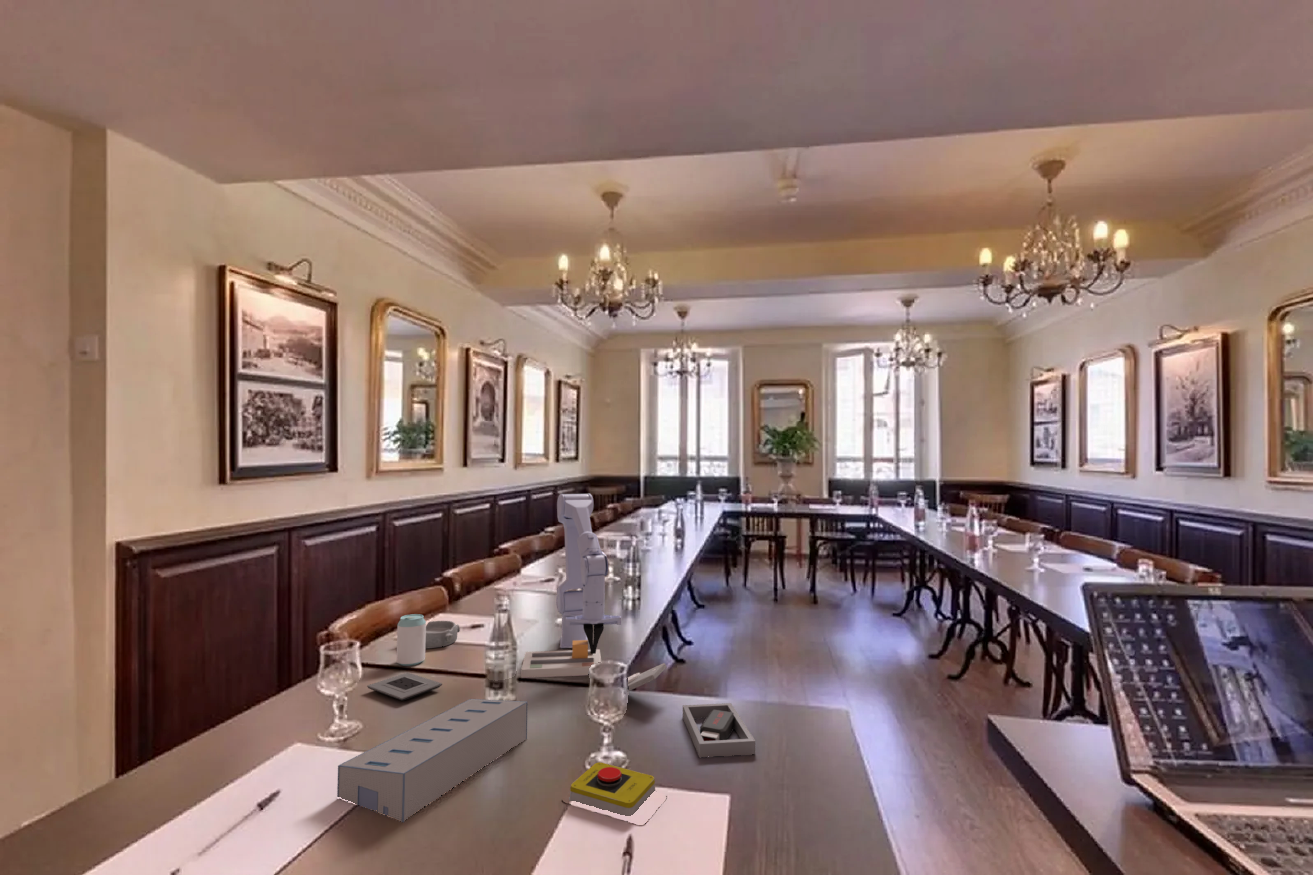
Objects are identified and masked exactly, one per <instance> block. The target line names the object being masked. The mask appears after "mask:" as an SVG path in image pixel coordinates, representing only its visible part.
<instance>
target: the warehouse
mask: <svg viewBox="0 0 1313 875" xmlns="http://www.w3.org/2000/svg"><path fill="white" fill-rule="evenodd" d="M528 706H529V705H528V701H521V700H520V701H519V700H503V699H502V700H501V699H499V700H498V699H479V698H475V699H474V698H469V699H467V700H465V701H463V702H461V703H459V704H456V705H455V706H453V707H452V708H451V707H450V709H446V710H445V711H443V712H442V713H439V714H437V715H435V716H434V717H431V718H429V719H428V720H426V721H423V722H422V723H420V724H418V725H415V726H413V727H412V728H410V729H407V730H405V731H403V732H402V733H400V734H398V735H396V736H394V737H392V738H390V739H388V740H386V741H384V742H382V743H379V744H378V745H376V746H375V747H372V748H370V749H368V750H365V751H364V752H362V753H360V754H358V755H356V756H354V757H352V758H350V759H348V760H346V761H344V762H343V763H340V764H339V765H337V787H336V789H337V791H336V792H337V794H336V795H337V796H336V797H341V798H342V799H345V800H348V801H351V802H353V803H355V804H357V805H360V806H359V807H361V806H363V807H362V808H364V807H366V808H368V809H367V810H369V809H370V811H372V810H375V811H376V810H377V812H379V813H382V814H385V815H388V816H390V817H393V818H395V819H397V820H400V821H401V822H400V821H399V822H400V823H402V822H403V823H405V822H406V821H407V820H408V817H410V816H411V815H413V814H414V813H415V812H417V811H418V810H420V809H422V808H423V807H424V806H426V805H428V804H429V803H430V802H432V801H434V802H436V799H437V798H438V799H440V798H442V796H441V795H443V794H444V793H445V792H447V793H449V792H450V791H451V790H450V789H451V788H453V787H455V786H456V785H458V784H459V783H461V782H462V781H463V780H465V779H466V778H468V777H470V775H472V774H474V773H475V772H476V771H478V770H479V769H481V768H483V767H484V766H485V765H487V764H489V763H490V762H491V761H493V760H495V759H496V758H497V757H499V756H500V755H502V754H504V753H505V752H506V751H508V752H510V751H511V750H512V749H511V748H512V747H514V746H516V747H518V744H519V743H520V744H521V742H522V743H523V742H525V741H527V740H528ZM526 739H527V740H526ZM524 740H525V741H524ZM520 744H519V745H520ZM514 748H515V747H514ZM510 749H511V750H510ZM509 750H510V751H509ZM505 754H506V753H505ZM505 754H504V755H505ZM502 756H503V755H502ZM499 758H500V757H499ZM496 760H497V759H496ZM496 760H495V761H496ZM493 762H494V761H493ZM490 764H491V763H490ZM490 764H489V765H490ZM487 766H488V765H487ZM483 769H484V768H483ZM474 775H475V774H474ZM470 778H471V777H470ZM468 779H469V778H468ZM465 781H466V780H465ZM462 783H463V782H462ZM462 783H461V784H462ZM459 785H460V784H459ZM459 785H458V786H459ZM456 787H457V786H456ZM456 787H455V788H456ZM453 789H454V788H453ZM449 790H450V791H449ZM448 791H449V792H448ZM444 795H445V794H444ZM444 795H443V796H444ZM439 797H440V798H439ZM438 799H437V800H438ZM432 803H433V802H432ZM429 805H430V804H429ZM429 805H428V806H429ZM426 807H427V806H426ZM366 808H365V809H366ZM371 809H372V810H371ZM423 809H424V808H423ZM423 809H422V810H423ZM375 811H374V812H375ZM377 812H376V813H377ZM385 815H384V816H385ZM413 816H414V815H413ZM410 818H411V817H410ZM406 819H407V820H406ZM397 820H396V821H397ZM405 820H406V821H405Z"/></svg>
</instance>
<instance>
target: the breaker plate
mask: <svg viewBox="0 0 1313 875" xmlns="http://www.w3.org/2000/svg"><path fill="white" fill-rule="evenodd" d="M598 662H601V663H602V657H601V649H598V648H596V654H591V652H590V649H588V658H574V659H572V650H568V649H567V650H545V651H544V650H542V651H541V650H539V651H538V650H537V651H525V653H524V658H523V662H522V666H521V668H520V673H521V674H520V678H521V679H525V678H527V679H529V678H550V677H551V678H552V677H555V678H556V677H572V676H573V677H576V676H579V677H580V676H589V675H588V671H589V668H590V667H591V665H592V664H595V663H598Z"/></svg>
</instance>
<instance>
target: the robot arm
mask: <svg viewBox="0 0 1313 875" xmlns="http://www.w3.org/2000/svg"><path fill="white" fill-rule="evenodd" d="M594 506H595V505H594V498H593V495H592V494H591V493H589V492H588V493H560V494H559V495H558V496H557V502H556V509H557V510H556V511H557V516H556V517H557V520H558V521H557V522H559V523H560V524H562V525H563V530H564V550H565V553H564V554H565V576H566V577H565V578H566V579H565V580H564V581H563V582H562V583H561V584H559V585H558V587H557V589H556V599H555V600H556V604H555V605H556V609H557V612H558V613H559V614H560V615H561V637H560V638H559V639H560V641H559V648H560V649H572V644H573V641H575V640H588V646H589V650H590V652H591V654H596V649H598V644H599V640H600V639H601V636H602V634H603V632H604V628H605V627H604V625H618V626H620V625H622V616H621V615H609V614H605V603H606V602H605V600H606V599H605V594H606V591H605V588H606V586H605V585H606V576H608V573H609V560H608V556H607V554H606V553H605V551H603V550H602V548H601V546H600V540H599V538H598V535H597V534H596V533H595V532H593V529H592V523H591V516H592V513H593V510H594Z"/></svg>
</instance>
